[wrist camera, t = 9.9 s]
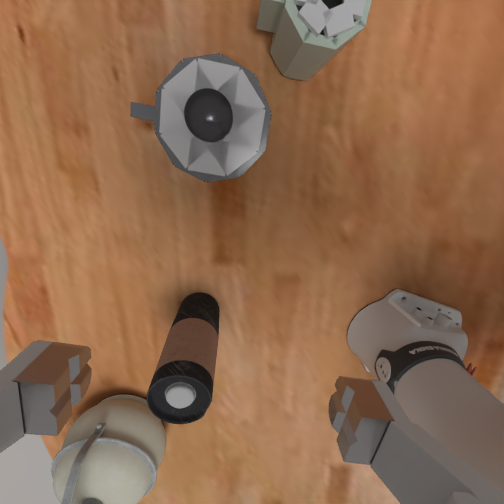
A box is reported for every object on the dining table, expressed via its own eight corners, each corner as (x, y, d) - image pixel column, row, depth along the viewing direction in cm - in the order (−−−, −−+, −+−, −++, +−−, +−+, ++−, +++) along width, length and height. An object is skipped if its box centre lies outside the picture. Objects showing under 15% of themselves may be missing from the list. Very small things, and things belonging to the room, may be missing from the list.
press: (261, 103, 40) (281, 63, 23) (249, 177, 43) (258, 191, 26) (170, 84, 38) (117, 27, 21) (165, 163, 42) (115, 168, 25)
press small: (334, 19, 37) (388, -55, 24) (320, 86, 40) (361, 51, 27) (260, 1, 36) (274, -87, 23) (249, 70, 38) (257, 27, 25)
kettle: (73, 379, 54) (-52, 550, 31) (167, 376, 55) (117, 540, 32) (93, 466, 62) (8, 654, 39) (175, 462, 63) (141, 643, 40)
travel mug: (172, 298, 49) (133, 387, 31) (211, 285, 49) (197, 366, 30) (189, 332, 52) (162, 432, 33) (226, 319, 52) (222, 414, 33)
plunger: (235, 117, 33) (236, 93, 20) (231, 149, 34) (229, 145, 21) (205, 111, 32) (186, 83, 20) (201, 143, 33) (182, 136, 21)
